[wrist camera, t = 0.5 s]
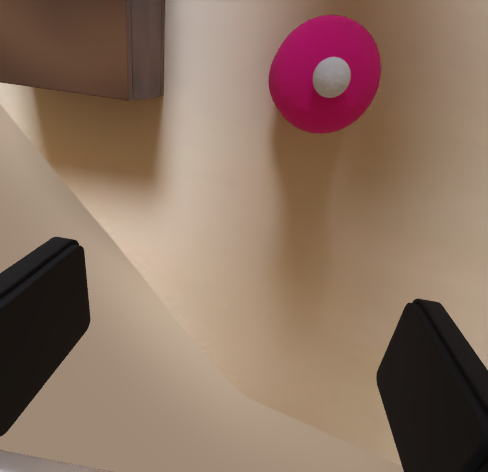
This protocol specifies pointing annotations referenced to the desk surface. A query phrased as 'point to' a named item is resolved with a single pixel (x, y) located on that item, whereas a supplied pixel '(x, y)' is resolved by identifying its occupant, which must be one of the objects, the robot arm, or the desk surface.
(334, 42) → the pepper mill
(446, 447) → the robot arm
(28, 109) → the desk surface
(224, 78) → the desk surface
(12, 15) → the cabinet
